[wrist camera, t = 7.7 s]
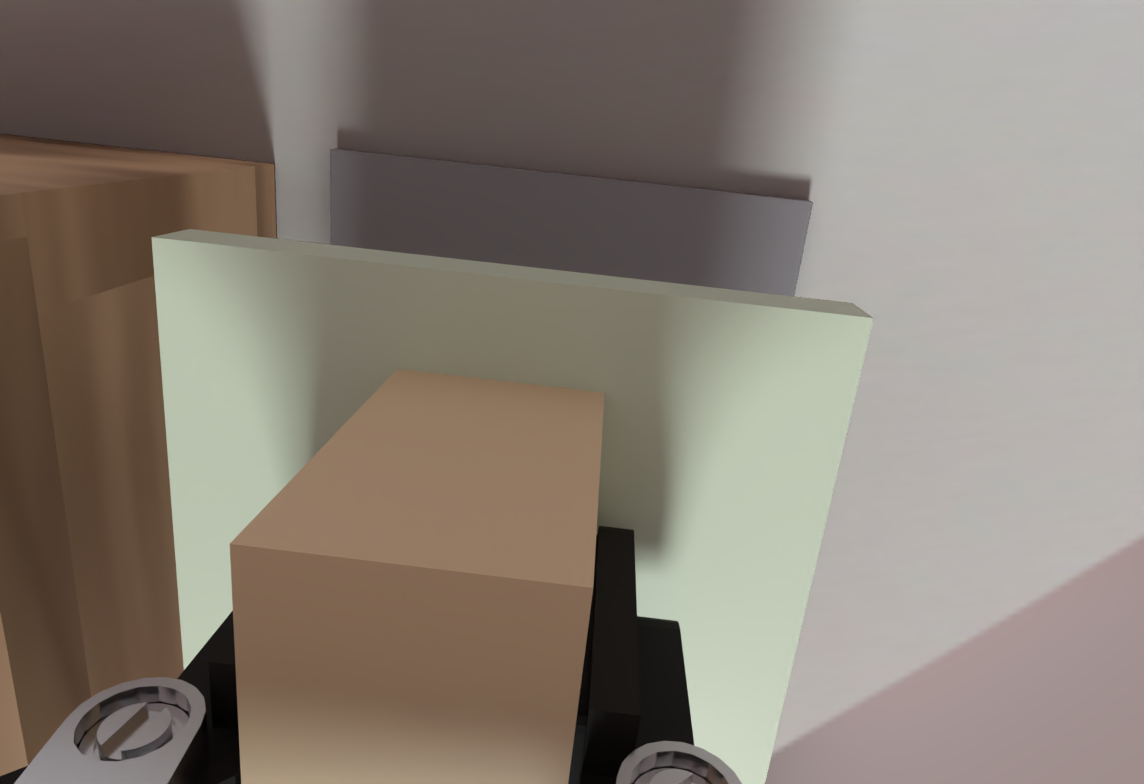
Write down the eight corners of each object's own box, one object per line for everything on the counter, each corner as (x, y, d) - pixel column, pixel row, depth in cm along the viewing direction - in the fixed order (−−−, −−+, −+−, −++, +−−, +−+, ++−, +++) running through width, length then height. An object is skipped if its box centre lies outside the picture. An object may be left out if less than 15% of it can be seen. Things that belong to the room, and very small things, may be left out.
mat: (809, 200, 17) (813, 201, 17) (727, 605, 21) (729, 614, 21) (336, 148, 18) (330, 149, 17) (338, 555, 22) (332, 563, 21)
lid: (852, 302, 11) (1088, 470, 6) (737, 817, 15) (813, 1255, 9) (189, 229, 12) (-227, 317, 6) (220, 752, 15) (-30, 1137, 9)
